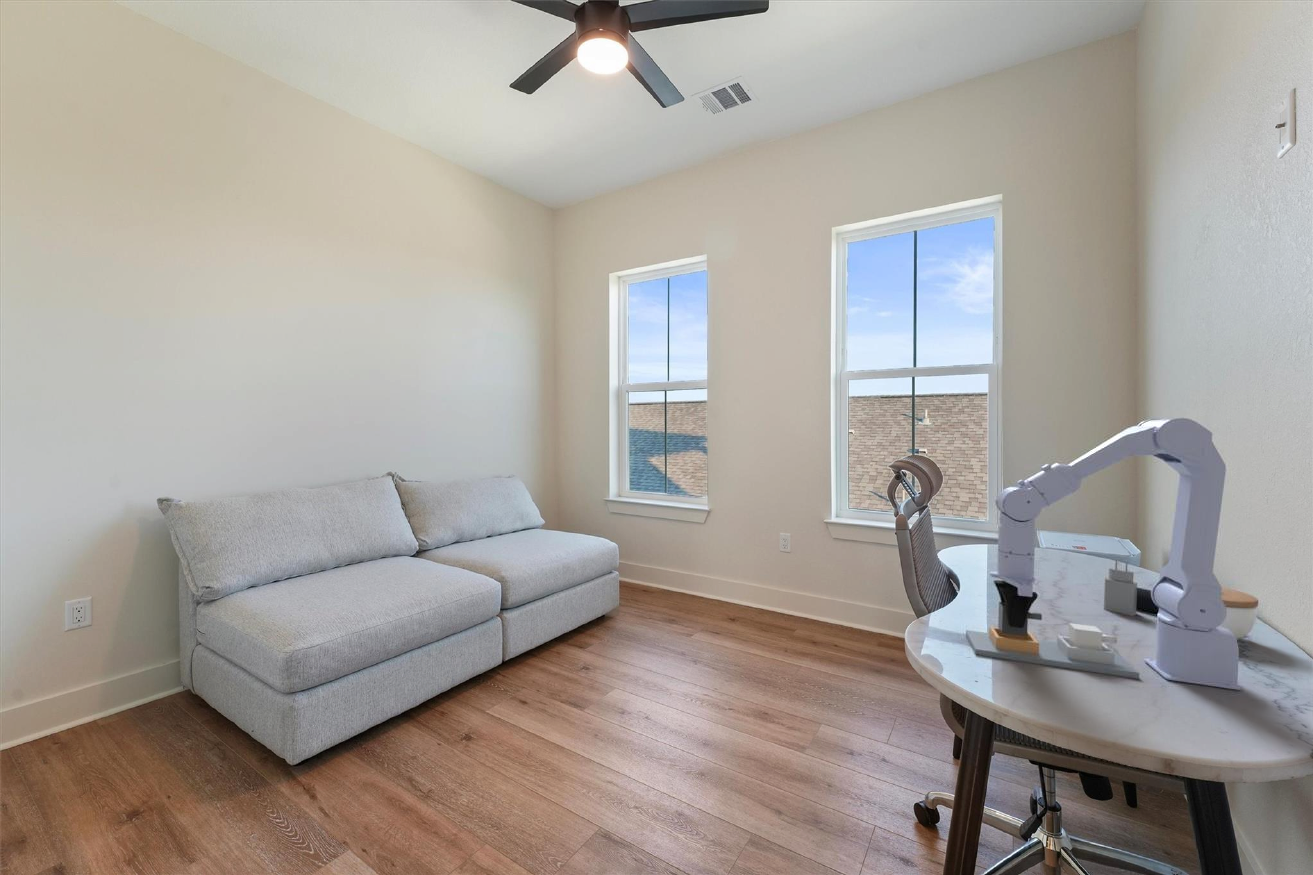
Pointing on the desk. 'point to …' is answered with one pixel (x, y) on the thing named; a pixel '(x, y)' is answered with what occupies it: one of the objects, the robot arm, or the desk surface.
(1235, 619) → the white lidded bowl
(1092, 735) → the desk surface
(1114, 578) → the power adapter
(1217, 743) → the desk surface
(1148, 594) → the pipe connector
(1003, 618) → the dark gray plug
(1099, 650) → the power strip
